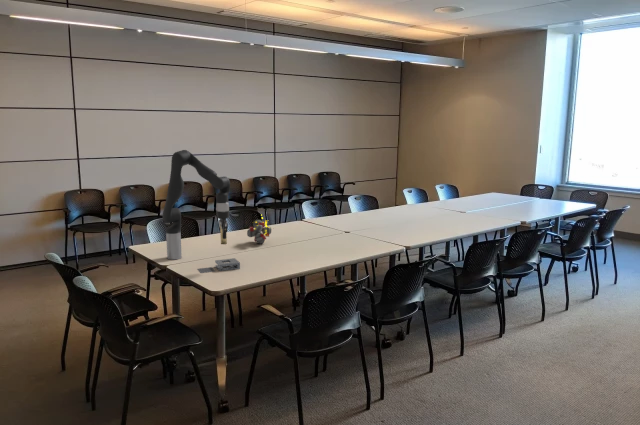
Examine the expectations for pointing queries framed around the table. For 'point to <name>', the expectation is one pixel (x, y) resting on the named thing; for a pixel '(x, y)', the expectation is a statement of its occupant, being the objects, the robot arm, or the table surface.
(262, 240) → the molecule model
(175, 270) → the table surface
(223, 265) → the grey flat block
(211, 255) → the table surface
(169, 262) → the table surface
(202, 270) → the rubber mat
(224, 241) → the brass pin
